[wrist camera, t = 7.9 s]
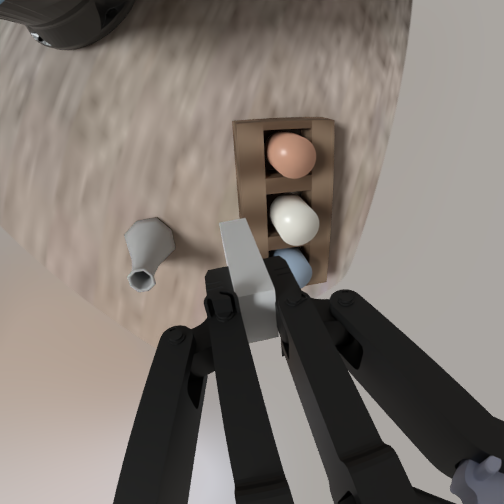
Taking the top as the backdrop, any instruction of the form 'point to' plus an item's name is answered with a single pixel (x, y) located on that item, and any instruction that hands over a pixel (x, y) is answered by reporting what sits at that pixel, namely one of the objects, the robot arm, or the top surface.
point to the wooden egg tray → (286, 185)
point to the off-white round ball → (293, 219)
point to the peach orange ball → (290, 154)
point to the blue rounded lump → (295, 264)
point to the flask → (147, 251)
